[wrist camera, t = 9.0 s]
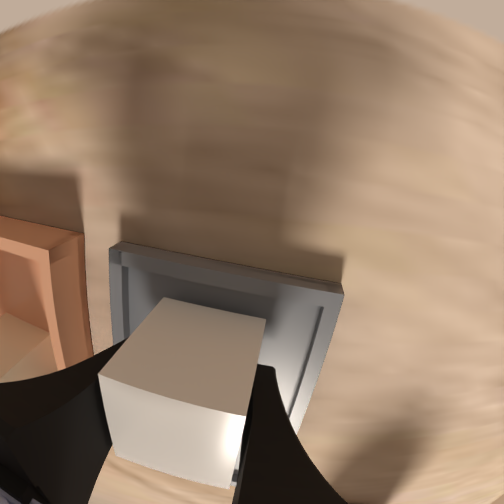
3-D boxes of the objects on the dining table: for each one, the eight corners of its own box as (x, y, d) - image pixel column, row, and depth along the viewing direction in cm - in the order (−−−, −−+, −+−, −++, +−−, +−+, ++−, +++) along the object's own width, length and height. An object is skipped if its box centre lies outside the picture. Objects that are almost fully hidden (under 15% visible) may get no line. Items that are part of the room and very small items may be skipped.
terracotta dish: (103, 408, 16) (84, 435, 14) (5, 360, 17) (-15, 378, 15) (84, 233, 13) (48, 250, 10) (-23, 210, 14) (-53, 220, 11)
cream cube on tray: (250, 395, 13) (229, 489, 8) (162, 374, 13) (115, 455, 9) (266, 319, 12) (246, 416, 7) (163, 296, 12) (97, 373, 7)
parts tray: (272, 480, 16) (271, 492, 15) (136, 446, 17) (130, 457, 16) (341, 283, 12) (344, 294, 11) (121, 241, 13) (108, 248, 12)
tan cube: (63, 386, 16) (18, 437, 11) (19, 363, 16) (-26, 405, 11) (51, 333, 14) (-7, 384, 10) (6, 312, 15) (-49, 352, 10)
